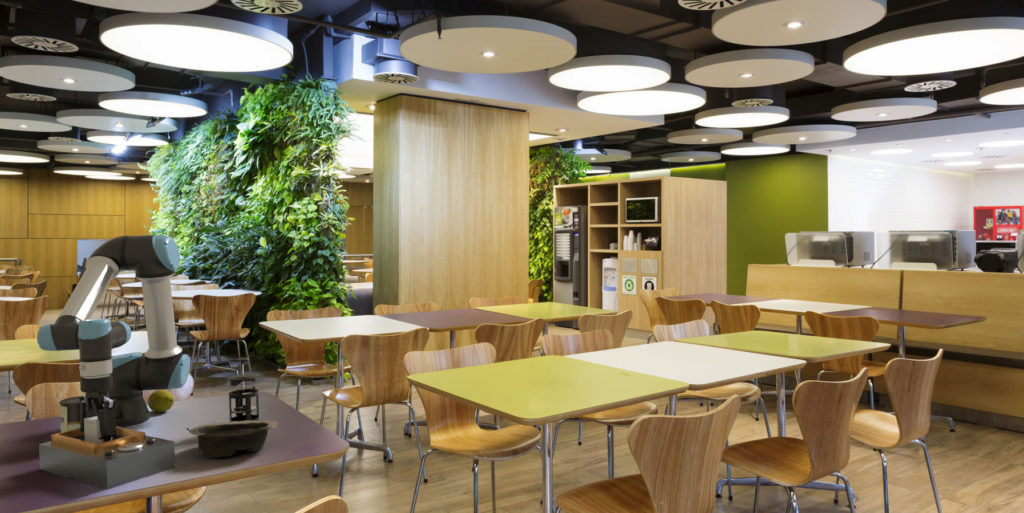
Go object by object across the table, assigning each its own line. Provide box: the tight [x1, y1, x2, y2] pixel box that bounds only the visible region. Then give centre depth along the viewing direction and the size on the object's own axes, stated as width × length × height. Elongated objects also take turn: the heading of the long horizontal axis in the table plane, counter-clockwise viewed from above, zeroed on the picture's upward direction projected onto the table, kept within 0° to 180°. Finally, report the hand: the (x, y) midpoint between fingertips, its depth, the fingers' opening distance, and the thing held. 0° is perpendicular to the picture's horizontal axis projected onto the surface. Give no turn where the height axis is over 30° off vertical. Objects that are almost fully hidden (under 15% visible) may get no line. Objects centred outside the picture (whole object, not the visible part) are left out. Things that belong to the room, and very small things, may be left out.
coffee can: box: [59, 395, 100, 433], centre depth 202 cm, size 10×10×14 cm
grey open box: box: [38, 426, 176, 490], centre depth 180 cm, size 32×18×9 cm, turn 61°
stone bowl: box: [186, 420, 279, 459], centre depth 195 cm, size 25×25×9 cm
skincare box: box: [84, 416, 112, 444], centre depth 181 cm, size 6×4×12 cm
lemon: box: [147, 389, 175, 413], centre depth 241 cm, size 11×8×8 cm
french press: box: [227, 357, 260, 422], centre depth 218 cm, size 12×9×23 cm
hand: (99, 459), depth 182 cm, fingers closed on skincare box, 6 cm apart
